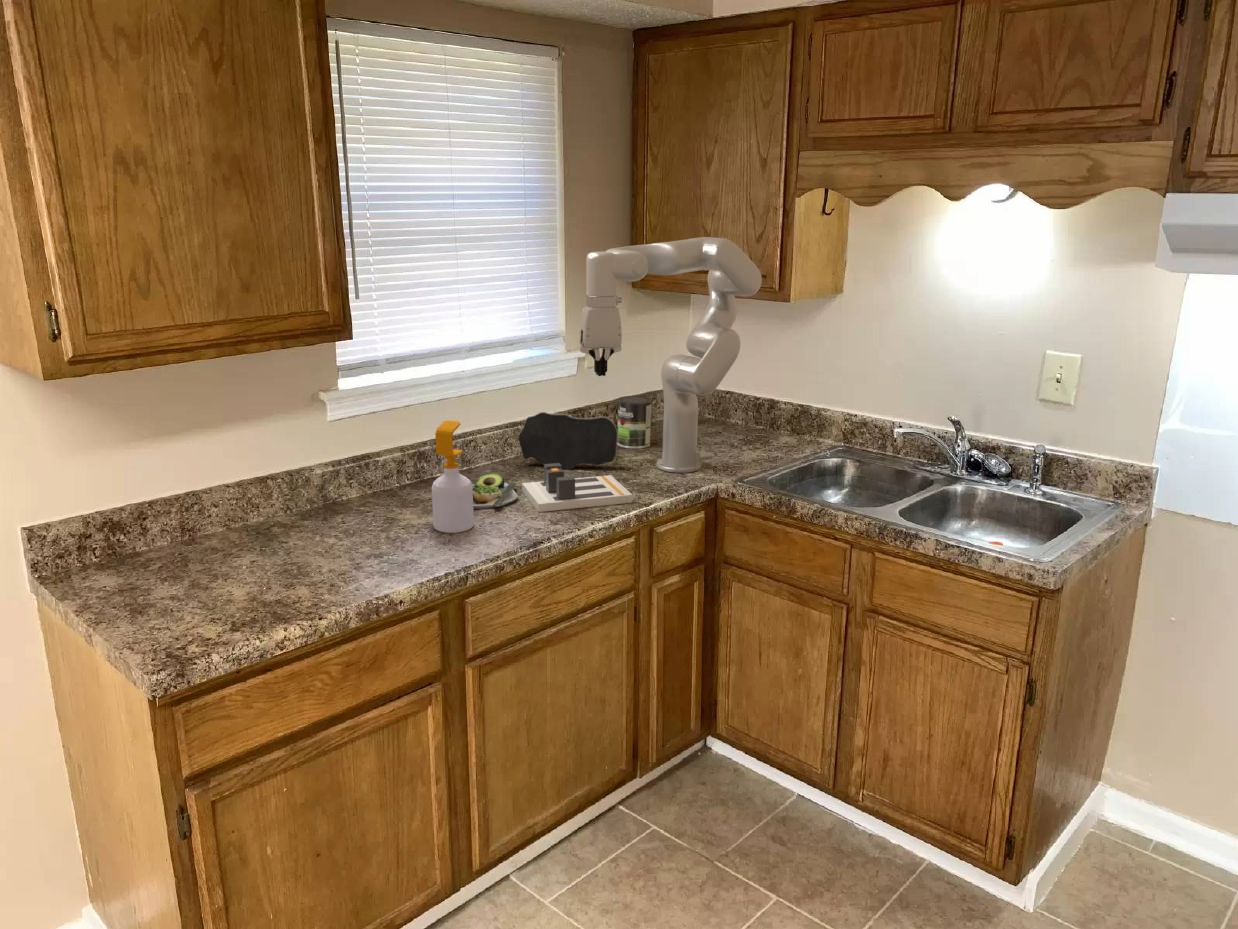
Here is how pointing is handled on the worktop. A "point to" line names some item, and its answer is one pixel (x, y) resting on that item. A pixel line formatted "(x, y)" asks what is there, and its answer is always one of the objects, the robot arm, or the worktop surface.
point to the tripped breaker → (553, 478)
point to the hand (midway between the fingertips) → (600, 374)
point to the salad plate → (492, 492)
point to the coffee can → (634, 422)
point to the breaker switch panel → (576, 492)
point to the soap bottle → (451, 487)
